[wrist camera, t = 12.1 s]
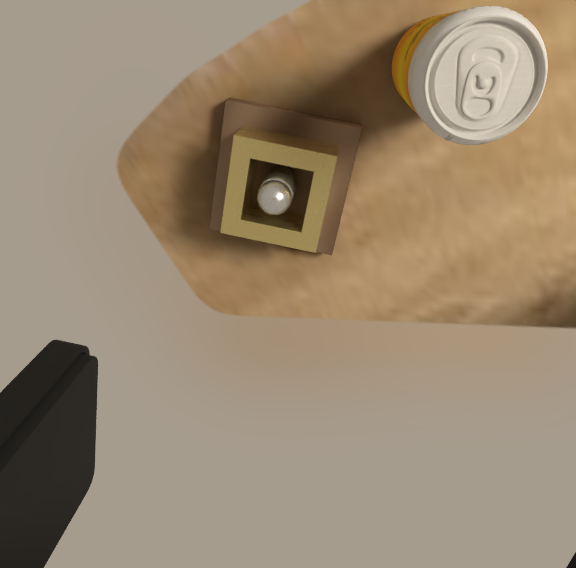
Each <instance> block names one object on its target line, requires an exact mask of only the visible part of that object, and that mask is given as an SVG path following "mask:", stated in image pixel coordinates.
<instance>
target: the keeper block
mask: <svg viewBox="0 0 576 568" xmlns="http://www.w3.org/2000/svg"><path fill="white" fill-rule="evenodd" d="M243 126H248V127H253V128H257V129H262V130H267V131H272V132H277V133H281V134H286V135H291V136H296V137H301V138H306V139H310V140H315V141H320V142H325V143H330V144H334V145H338V156H337V161H336V165H335V170H334V174H333V178H332V183H331V187H330V192H329V196H328V201H327V205H326V210H325V214H324V219H323V223H322V228H321V232H320V237H319V241H318V245H317V250H316V252H319V253H324V254H329V255H332V253H333V249H334V245H335V240H336V236H337V232H338V228H339V224H340V219H341V215H342V211H343V207H344V203H345V198H346V194H347V190H348V186H349V182H350V178H351V173H352V169H353V165H354V161H355V157H356V152H357V148H358V144H359V140H360V136H361V132H362V125H359V124H354V123H349V122H344V121H339V120H335V119H330V118H325V117H320V116H315V115H310V114H306V113H301V112H296V111H291V110H286V109H282V108H277V107H272V106H267V105H262V104H257V103H253V102H248V101H243V100H238V99H233V98H228V99H227V100H226V101H225V109H224V117H223V125H222V133H221V140H220V148H219V156H218V164H217V172H216V179H215V187H214V195H213V203H212V211H211V218H210V226H209V229H210V230H214V231H219V232H221V224H222V217H223V210H224V203H225V195H226V188H227V181H228V174H229V166H230V159H231V152H232V145H233V137H234V134H235V133H237V132H238V131H239V130H240V129H241V128H242V127H243ZM313 175H314V171H309V170H304V169H299V168H294V167H290V166H285V165H280V164H275V163H270V162H266V161H261V160H257V162H256V168H255V174H254V181H253V187H252V193H251V199H250V204H254V205H259V206H260V208H261V209H262V210H263V211H264V212H266V213H267V214H270V215H279V214H282V213H284V212H285V211H288V212H292V213H297V214H302V215H305V213H306V209H307V204H308V199H309V194H310V189H311V185H312V180H313Z"/></svg>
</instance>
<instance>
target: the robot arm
mask: <svg viewBox="0 0 576 568" xmlns="http://www.w3.org/2000/svg"><path fill="white" fill-rule="evenodd" d="M97 376H98V360H97V358H96V357H95V356H90V355H89V349H88V347H86V346H83V345H79V344H74V343H69V342H65V341H60V340H53V341H51V342H50V343H49V344H48V345H47V346H46V347H45V348H44V349H43V350H42V351H41V352H40V353H39V354H38V355H37V356H36V357H35V358H34V359H33V360H32V361H31V362H30V363H29V364H28V365H27V366H26V367H25V368H24V369H23V370H22V371H21V372H20V373H19V374H18V375H17V376H16V377H15V378H14V379H13V380H12V381H11V382H10V383H9V385H7V386H6V388H4V389H3V391H2V392H1V393H0V568H44V566H45V564H46V563H47V561H48V559H49V557H50V556H51V554H52V552H53V550H54V549H55V547H56V545H57V543H58V542H59V540H60V538H61V537H62V535H63V533H64V531H65V530H66V528H67V526H68V524H69V523H70V521H71V519H72V517H73V516H74V514H75V512H76V511H77V509H78V507H79V505H80V504H81V502H82V500H83V498H84V497H85V495H86V493H87V491H88V489H89V487H90V484H91V482H92V479H93V475H94V468H95V440H96V410H97V378H98V377H97ZM567 568H576V553H575V554H574V556H573V558H572V559H571V561H570V563H569V564H568V566H567Z"/></svg>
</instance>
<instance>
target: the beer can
mask: <svg viewBox="0 0 576 568" xmlns="http://www.w3.org/2000/svg"><path fill="white" fill-rule="evenodd" d="M547 72H548V61H547V53H546V49H545V45H544V43H543V40H542V38H541V36H540V34H539V32H538V31H537V30H536V28H535V27H534V26H533V24H532V23H531V22H530V21H529V20H527V19H526V18H525V17H524V16H522V15H521V14H519V13H517V12H515V11H513V10H510V9H507V8H504V7H498V6H480V7H474V8H470V9H465V10H461V11H456V12H452V13H447V14H442V15H438V16H433V17H429V18H426V19H424V20H422V21H420V22H418V23H417V24H415V25H414V26H412V27H411V28H410V29H409V30H408V31H407V32H406V33H405V34H404V35H403V37H402V38H401V40H400V41H399V43H398V45H397V47H396V49H395V52H394V55H393V60H392V77H393V81H394V85H395V87H396V89H397V91H398V93H399V94H400V96H401V97H402V98H403V99H404V100H405V101H406V103H407V104H408V105H409V106H410V107H411V108H412V109H413V110H414V112H415V113H416V114H417V115H418V116H419V117H420V118H421V119H422V120H423V122H424V123H425V124H426V125H427V126H428V127H429V128H430V129H431V130H432V131H433V132H434V133H436V134H437V135H438V136H440V137H442V138H444V139H446V140H448V141H451V142H454V143H458V144H464V145H478V144H484V143H489V142H492V141H495V140H497V139H500V138H502V137H504V136H506V135H507V134H509V133H511V132H512V131H514V130H515V129H516V128H518V127H519V126H520V125H521V124H522V123H523V122H524V121H525V120H526V119H527V118H528V117H529V115H530V114H531V113H532V111H533V110H534V109H535V107H536V105H537V104H538V102H539V100H540V98H541V96H542V93H543V90H544V87H545V83H546V79H547Z"/></svg>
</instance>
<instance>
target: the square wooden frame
mask: <svg viewBox="0 0 576 568" xmlns="http://www.w3.org/2000/svg"><path fill="white" fill-rule="evenodd" d="M337 156H338V145H334V144H330V143H325V142H320V141H315V140H310V139H306V138H301V137H296V136H291V135H286V134H281V133H277V132H272V131H267V130H262V129H257V128H253V127H248V126H243V127H242V128H241V129H240V130H239V131H238V132H237V133H235V134H234V137H233V145H232V152H231V159H230V166H229V174H228V181H227V188H226V195H225V203H224V210H223V217H222V224H221V232H220V233H224V234H228V235H233V236H238V237H243V238H247V239H252V240H257V241H262V242H266V243H271V244H276V245H281V246H285V247H290V248H295V249H300V250H305V251H309V252H314V253H316V250H317V245H318V241H319V237H320V232H321V228H322V223H323V219H324V214H325V210H326V205H327V201H328V196H329V192H330V187H331V183H332V178H333V174H334V170H335V165H336V161H337ZM257 160H261V161H266V162H270V163H275V164H280V165H285V166H290V167H294V168H299V169H304V170H309V171H314V175H313V180H312V185H311V189H310V194H309V199H308V204H307V209H306V213H305V215H302V214H297V213H292V212H288V211H285V212H284V213H282V214H279V215H270V214H267V213H266V212H264V211H263V210H262V209H261V208H260V206H259V205H254V204H250V199H251V193H252V187H253V181H254V174H255V168H256V162H257Z"/></svg>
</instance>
